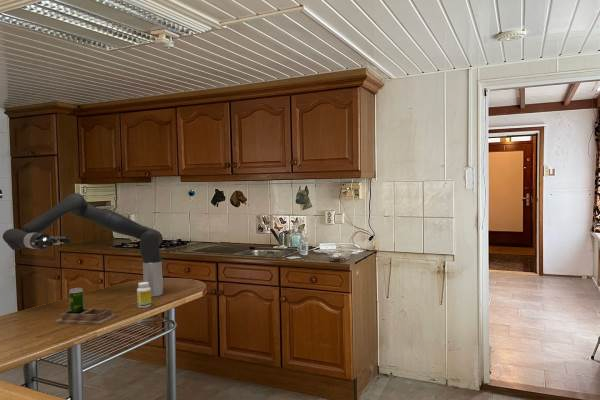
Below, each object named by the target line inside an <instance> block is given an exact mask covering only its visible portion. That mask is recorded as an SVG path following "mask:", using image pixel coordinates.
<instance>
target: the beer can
mask: <svg viewBox="0 0 600 400" xmlns="http://www.w3.org/2000/svg"><path fill="white" fill-rule="evenodd" d="M68 298H69V299H68V300H69V301H68V302H69V310H70V314H80V313H82V312H84V308H85V305H84V303H85V302H84V290H83V288H82V287H75V288H69V292H68Z"/></svg>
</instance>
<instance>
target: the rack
mask: <svg viewBox="0 0 600 400" xmlns="http://www.w3.org/2000/svg"><path fill="white" fill-rule="evenodd" d="M60 314H61V317H60V318H58V319H55V320H54V324H61V325H64V324H65V325H91V326H102V325H103V324H105V323H107V322H109V321H111V320H112V319H115V318H116V317H118V313H113V312H112V309H111V308H87V307H86V308H85V307H84V312H82V313H80V314H70V309H69V310H67V311H65V312H63V313H60Z"/></svg>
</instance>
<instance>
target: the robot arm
mask: <svg viewBox="0 0 600 400" xmlns="http://www.w3.org/2000/svg"><path fill="white" fill-rule="evenodd" d="M67 213H70V214H73V215H75V216H78V217H81V218H83V219H87V220H90V221H91V222H93V223H94V224H95V223H96V224H97V225H99V226H101V227H102V228H104V229H107V230H109V231H112V232H114V233H117V234H119V235H125V236H129V237H132V238H135V239H137V240H139V241H140V242H139V244H140V245H139V246H140V256H141V259H142V271H143V272H142V275H143V282H149V286H148V287H150V288H151V298H152V297H159V296H162V295H163V294H164V282H163V281H164V280H163V279H164V278H163V266H162V265H163V264H162V263H163V261H162V259H163V257H162V255H161V253H160V245H161V244H162V243H163V240H164V238H163V235H162V233H161V232H160V231H159V230H157V229H154V228H151V227H148V226H145V225H142V224H140V223H138V222H136V221H134V220H133V219H130V218H128V217H126V216H124V215H123V214H121V213H118V212H115V211H113V210H109V209H103V208H98V207H96V206H94V205H93V204H91V203H89V202H87V201H86V199H85V197H84V196H83V194H81V193H78V192H75V193H74V192H73V193H71V194H69V195H67V196H66V197H65V198H63V199H62V200H61V201H59V202H58V203H57V204H56V205H54V206H53V207H51V208H50V209H49V210H47V211H46V212H44V213H42V214H41V215H40V216H38V217H36V218H34V219H32V220H30V221H29V222H27V223H25V224H24V225H23V229H24V230H22V229H18V228H10V229H7V230H5V231H4V233H3V234H2V239H3V241H4V243H6V244H7V245H8V246H9V248H10V249H11V250H13V251H18V250H21V249H23V248H26V249H27V248H29V249H35V250H45V249H48V248H49V247H54V245H61V244H70V243H71V238H70V237H67V236H50V235H49V234H48V233H46V232H44V231H46V230H47V229H49V228H50V227H52V225H54V223H55V222H56V221H57V220H59V219H60V218H61V217H62V216H64V215H65V214H67Z"/></svg>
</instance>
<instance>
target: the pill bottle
mask: <svg viewBox="0 0 600 400" xmlns="http://www.w3.org/2000/svg"><path fill="white" fill-rule="evenodd" d="M137 284H138V285H137V286H138V287H137V289H136V301H137V308H139V309H145V308H149V307H151V306H152V297H151V288H150V287H148V286H149V282H144V281H143V282H141V281H140V282H138V283H137Z"/></svg>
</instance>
